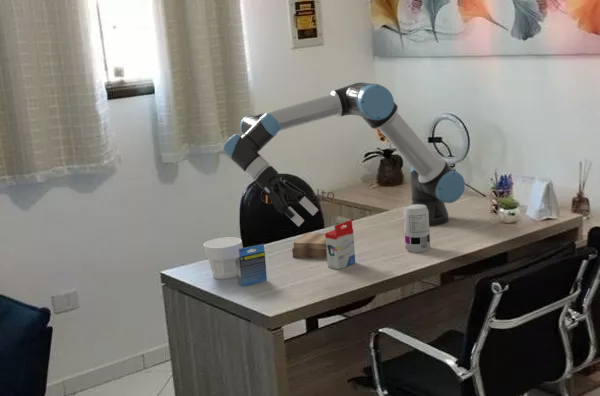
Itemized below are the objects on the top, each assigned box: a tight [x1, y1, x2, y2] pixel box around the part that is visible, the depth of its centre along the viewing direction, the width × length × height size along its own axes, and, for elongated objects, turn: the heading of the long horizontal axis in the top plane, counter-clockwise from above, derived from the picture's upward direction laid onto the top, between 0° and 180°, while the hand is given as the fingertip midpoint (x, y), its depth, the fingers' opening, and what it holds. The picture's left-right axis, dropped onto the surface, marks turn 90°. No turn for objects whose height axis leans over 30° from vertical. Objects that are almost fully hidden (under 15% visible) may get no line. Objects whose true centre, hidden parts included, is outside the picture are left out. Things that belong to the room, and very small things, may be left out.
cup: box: [203, 236, 243, 280], centre depth 261 cm, size 12×12×11 cm
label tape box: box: [235, 243, 268, 288], centre depth 251 cm, size 9×4×12 cm, turn 118°
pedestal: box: [291, 232, 327, 259], centre depth 278 cm, size 13×13×5 cm
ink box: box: [324, 219, 356, 270], centre depth 261 cm, size 8×5×15 cm, turn 134°
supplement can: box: [403, 203, 431, 254], centre depth 271 cm, size 8×8×15 cm
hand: (308, 218), depth 262 cm, fingers open, 13 cm apart
